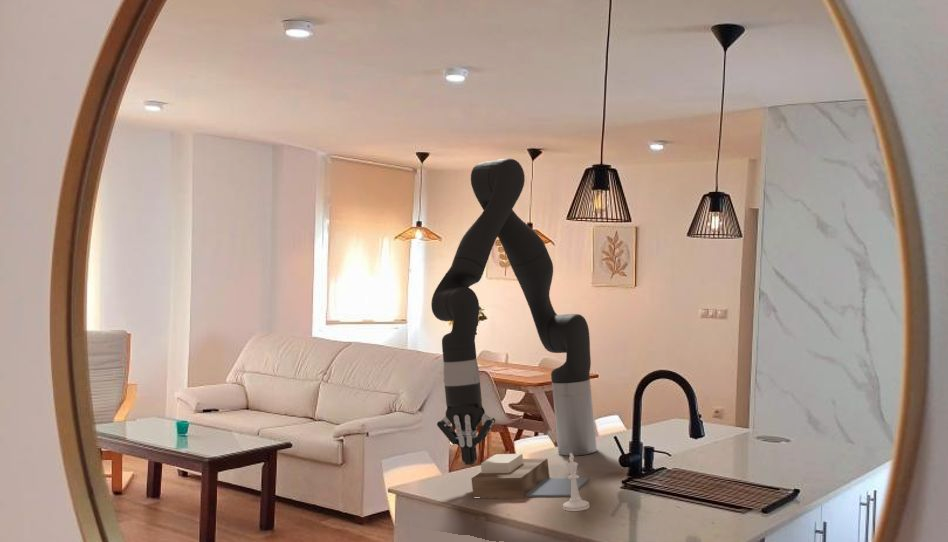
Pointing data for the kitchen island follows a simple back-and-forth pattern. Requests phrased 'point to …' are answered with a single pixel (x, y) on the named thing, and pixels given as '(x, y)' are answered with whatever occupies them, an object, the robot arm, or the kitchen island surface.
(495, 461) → the white rectangular block
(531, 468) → the block
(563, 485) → the mat
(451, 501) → the kitchen island surface
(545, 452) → the kitchen island surface
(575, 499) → the chess piece
